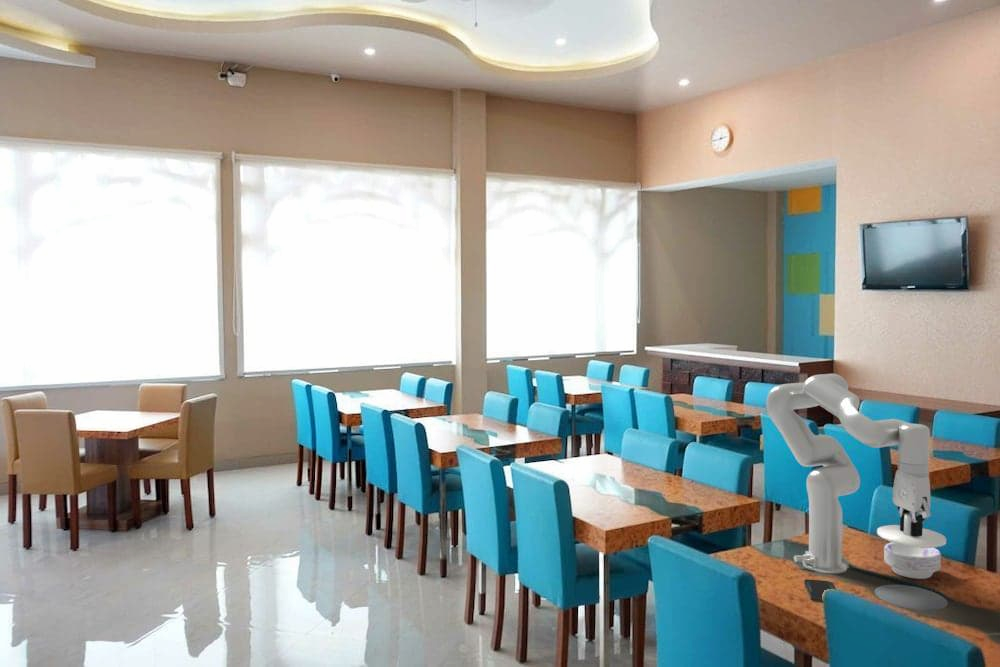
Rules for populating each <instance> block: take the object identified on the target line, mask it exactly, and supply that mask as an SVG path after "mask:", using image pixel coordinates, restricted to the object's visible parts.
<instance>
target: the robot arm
mask: <svg viewBox="0 0 1000 667" xmlns="http://www.w3.org/2000/svg"><path fill="white" fill-rule="evenodd" d="M765 402H766V410H767V415H768V416H769V418H770V420H771V421H772V423H773V424H774V426H775V427H776V428H777V430H778V431H779V433H780V434H781V436H782V438H783V440H784V441H785V443H786V445H787V446H788V448H789V449H790V451H791V454H792V455H793V456H794V458H795V460H796V461H797V463H798V464H800V466H802V467H804V468H805V467H807V468H812V467H816V468H814V469H812V471H810V472H809V474H808V475H807V477H806V481H805V485H806V492H807V497H808V506H809V508H808V512H809V513H808V517H809V518H808V550H805V553H804V554H802V555H799V554H797V555H794V556H793V561H794V562H795V563H798V562H800V563H801V562H802V564H803V567H804V568H805V569H807V570H809V571H813V572H816V573H817V572H818V573H823V574H843V573H845V572H847V570H848V565H847V564H845V563H844V562H843V561H842V560H843V555H842V554H843V552H842V551H843V508H842V506H841V503H840V501H839V497H841V496H847V495H851V494H854V493H856V492H857V491H858V489H860V485H861V478H860V475H859V474H860V473H859V472H858V470H857V468H856V467H855V465H854V464H853V462H852V461H851V459H850V457H849V455H848V453H847V452H846V451H845V449H844V447H843V446H842V445H841V443H840V442H839V441H838V440H837V439H836V438H835V437H833V436H831V435H829V434H818V435H816V434H814V432H812V430H811V428H810V426H808V423H807V422H806V420H804V418H803V417H801V416H800V415H799V414H797V413H796V412H795V410H799V409H801V410H802V409H808V408H809V409H810V408H814V407H818V406H820V407H821V408H823V409H825V410H826V411H827V412H829V413H831V414H832V415H833V416H836V417H837V418H838V419H839V421H840V424H841V426H842V427H843V428H844V430H845V431H846V433H848V435H850V436H852V437H853V438H854V439H855V440H858V441H859V442H861V443H862V444H863V445H866V446H867V447H870V448H874V449H877V448H878V449H879V448H884V447H885V448H886V447H893V446H898V448H897V449H898V450H897V452H898V454H897V459H898V460H897V470H896V472H895V474H894V481H893V487H892V503H893V504H894V505H895V506H896V507H897V510H898V516H899V517H900V518H899V519H900V521H899V525H900V531H904V514H905V513H912V520H913V522H911V531H910V535H911V536H922V528H923V527H924V526H923V523H925V520H926V519H928V518H931V515H932V514H931V511H930V509H931V483H930V477H929V473H930V472H929V468H930V464H929V462H930V441H931V440H930V439H931V438H930V436H931V432H930V431H931V430H930V428H929V427H928V426H927V425H925V424H921V423H911V422H907V421H904V420H901V419H898V418H889V419H880V420H873V419H871V418H870V417H868V416H866V415H864V414H863V413H861V412H860V411H859V410H858V409H859V407H860V398H859V396H858V395H856V394H855V393H854V392H852V391H850V390H849V384H848V382H847V380H846V379H845V378H844V377H843V376H841V375H840V374H838V373H825V374H824V373H823V374H820V373H819V374H814V375H811V376H810V377H808V378H807V379H806V380H805V381H804V382H794V383H793V382H792V383H791V382H790V383H783V384H779V385H776V386H774V387H773V388H772V389H770V390H769V392H768V394H767V396H766V401H765ZM817 466H818V467H817ZM819 466H820V467H819ZM917 515H918V516H917Z"/></svg>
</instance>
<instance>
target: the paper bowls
mask: <svg viewBox="0 0 1000 667" xmlns="http://www.w3.org/2000/svg"><path fill="white" fill-rule="evenodd" d="M883 554H884V555H883V556H884V558H883V559H884V560H883V561H884V563H885V564H886V565H888V566H890V568H891V570H892V571H893V572H894V573H895V574H897V575H899V576H901V577H906V578H910V579H919V580H921V579H922V580H923V579H924V580H925V579H929V578H931V577H932V576H933V574H934V573H936V572H938V571H940V569H941V567H942V566H941V565H942V560H941V558H942V553H941V552H940V550H939V549H937V548H936V547H932V548H924V547H913V546H906V545H901V544H897V543H893V542H889V543H885V545H884V546H883Z"/></svg>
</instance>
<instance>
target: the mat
mask: <svg viewBox="0 0 1000 667" xmlns="http://www.w3.org/2000/svg"><path fill="white" fill-rule="evenodd" d="M874 594H875V596H876V597H878V598H879V599H880V600H882V601H883V602H886V603H888V604H891V605H894V606H896V607H901V608H905V609H910V610H916V611H917V610H918V611H937V610H942V609H945V608H946V607H947V606H948V600H947V599H946V597H944V596H942V595H940V594H939V593H936V592H934V591H931V590H928V589H925V588H922V587H919V586H918V587H917V586H911V585H907V584H906V585H905V584H885V585H881V586H878V587H876V588H875V589H874Z"/></svg>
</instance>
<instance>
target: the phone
mask: <svg viewBox="0 0 1000 667" xmlns="http://www.w3.org/2000/svg"><path fill="white" fill-rule="evenodd" d="M804 586H805V589H806V592H807V595H808V598H809V600H810V601H811V600H812V601H811V602H815V601H819V602H818V603H823V601H822V594H823V592H824V590H827V589H836V588H835V585H834V582H832V581H830V580H819V579H818V580H817V579H808V578H807V579H804Z"/></svg>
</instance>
